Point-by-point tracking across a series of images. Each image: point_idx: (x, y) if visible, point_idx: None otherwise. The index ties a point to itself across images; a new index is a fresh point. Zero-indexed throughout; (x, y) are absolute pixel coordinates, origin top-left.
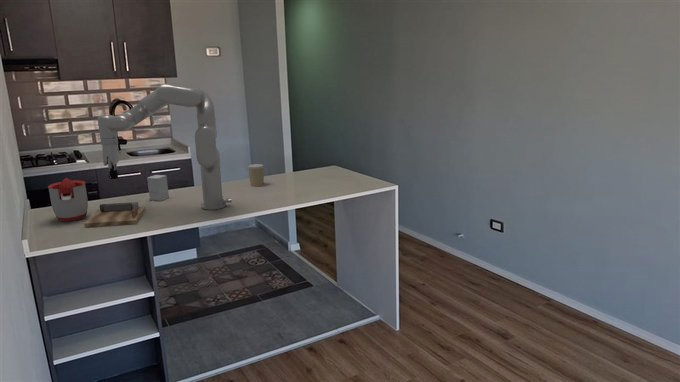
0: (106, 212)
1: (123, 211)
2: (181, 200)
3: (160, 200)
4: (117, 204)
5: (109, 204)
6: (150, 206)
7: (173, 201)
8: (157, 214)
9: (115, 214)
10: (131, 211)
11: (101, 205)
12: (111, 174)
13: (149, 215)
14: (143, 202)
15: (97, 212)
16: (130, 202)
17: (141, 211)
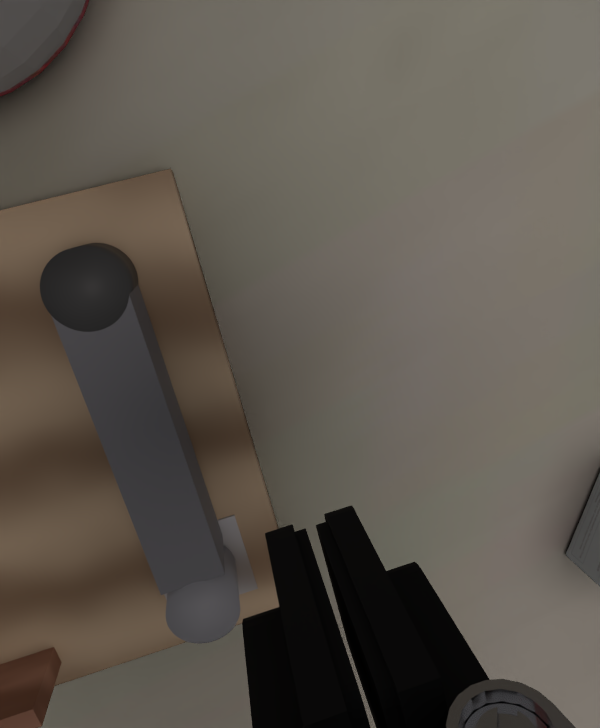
0: (59, 337)
1: (119, 495)
2: (562, 691)
3: (568, 556)
4: (120, 468)
5: (110, 370)
6: (411, 553)
7: (542, 651)
8: (182, 720)
9: (1, 474)
10: (127, 569)
11: (50, 289)
12: (251, 686)
13: (148, 679)
14: (541, 430)
15: (45, 227)
16: (217, 563)
17: (137, 653)
